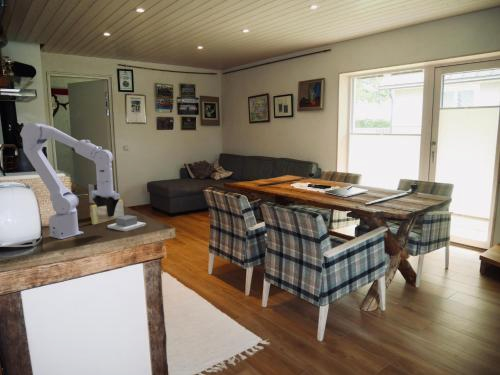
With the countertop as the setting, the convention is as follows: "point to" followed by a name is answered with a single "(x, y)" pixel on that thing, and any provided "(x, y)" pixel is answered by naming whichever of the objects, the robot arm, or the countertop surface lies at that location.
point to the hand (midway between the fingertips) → (106, 215)
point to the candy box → (119, 213)
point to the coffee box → (91, 188)
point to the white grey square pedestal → (126, 223)
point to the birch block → (104, 214)
